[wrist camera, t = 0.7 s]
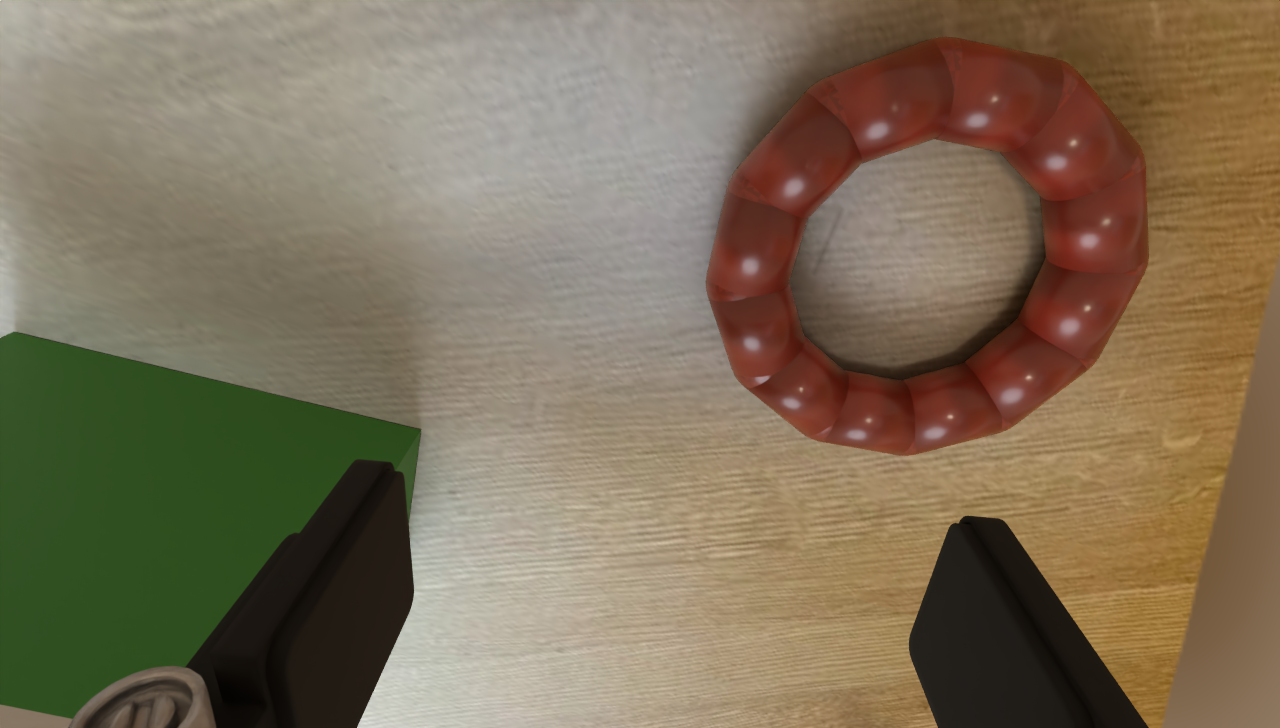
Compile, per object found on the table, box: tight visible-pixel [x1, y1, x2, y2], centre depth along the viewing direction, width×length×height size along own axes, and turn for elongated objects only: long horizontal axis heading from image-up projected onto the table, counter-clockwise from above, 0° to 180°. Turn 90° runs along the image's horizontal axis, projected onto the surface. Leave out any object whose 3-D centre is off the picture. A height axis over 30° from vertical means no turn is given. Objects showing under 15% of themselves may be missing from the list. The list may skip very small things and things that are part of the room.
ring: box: [706, 37, 1149, 456], centre depth 24 cm, size 15×15×3 cm
